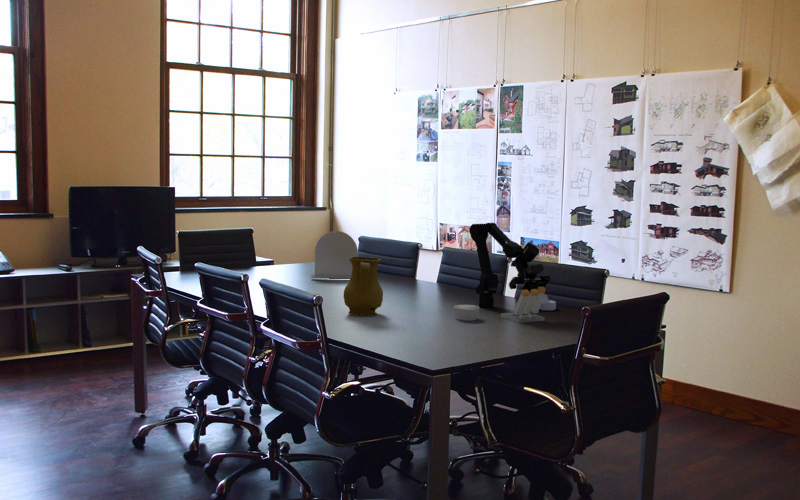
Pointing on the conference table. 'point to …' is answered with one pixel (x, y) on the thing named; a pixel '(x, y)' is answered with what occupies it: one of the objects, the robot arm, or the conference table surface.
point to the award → (334, 256)
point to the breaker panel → (522, 317)
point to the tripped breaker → (538, 301)
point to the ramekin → (466, 312)
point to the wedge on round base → (547, 304)
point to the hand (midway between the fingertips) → (537, 297)
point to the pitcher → (363, 287)
